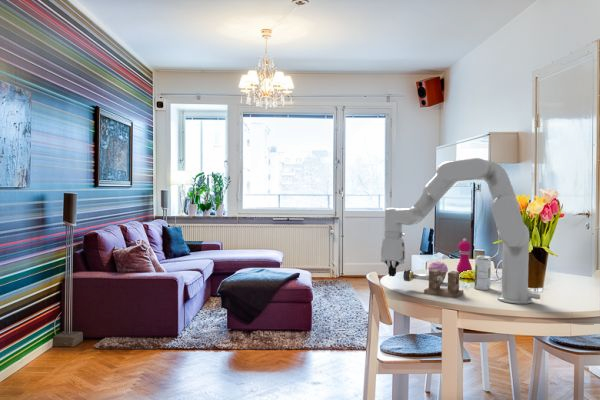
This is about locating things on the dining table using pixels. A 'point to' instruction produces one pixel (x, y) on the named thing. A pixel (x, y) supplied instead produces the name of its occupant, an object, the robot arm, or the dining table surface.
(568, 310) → the dining table surface
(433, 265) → the cupcake
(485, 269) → the silver can
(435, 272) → the bracket
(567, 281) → the dining table surface
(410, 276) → the shaft
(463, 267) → the pepper mill
